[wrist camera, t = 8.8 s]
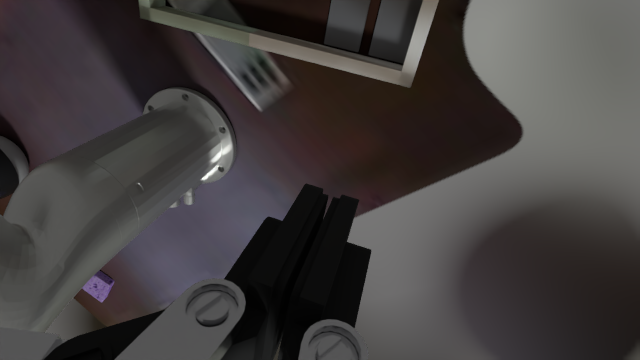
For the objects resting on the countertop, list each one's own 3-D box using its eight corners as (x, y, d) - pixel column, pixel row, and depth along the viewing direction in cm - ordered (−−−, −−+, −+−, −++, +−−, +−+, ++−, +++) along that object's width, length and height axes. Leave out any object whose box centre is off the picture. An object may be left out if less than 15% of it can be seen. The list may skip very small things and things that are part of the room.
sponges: (108, 295, 70) (101, 302, 68) (54, 258, 69) (45, 265, 67) (117, 279, 66) (110, 286, 65) (60, 239, 65) (51, 246, 63)
